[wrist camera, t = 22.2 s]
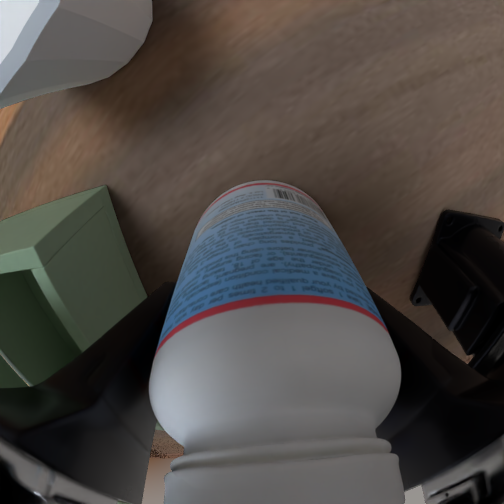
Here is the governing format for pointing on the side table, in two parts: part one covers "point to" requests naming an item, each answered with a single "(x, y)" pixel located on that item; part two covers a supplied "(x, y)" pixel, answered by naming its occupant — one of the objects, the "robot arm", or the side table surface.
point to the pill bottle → (274, 361)
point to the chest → (62, 282)
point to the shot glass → (66, 43)
